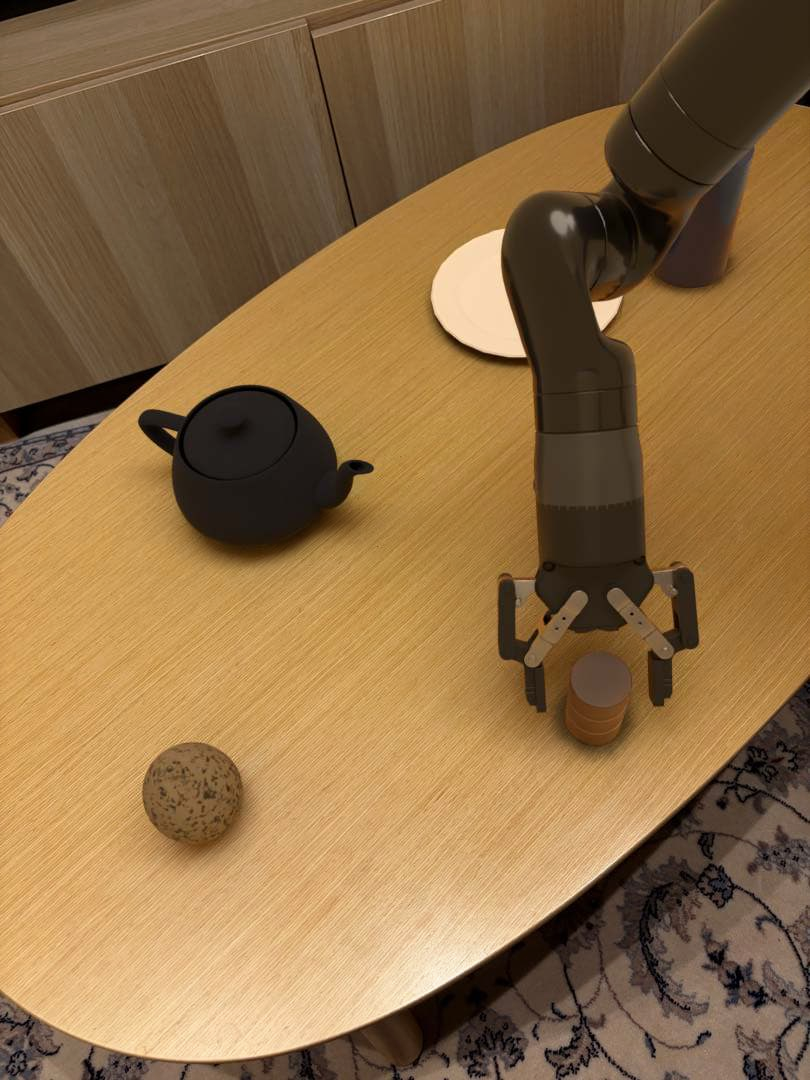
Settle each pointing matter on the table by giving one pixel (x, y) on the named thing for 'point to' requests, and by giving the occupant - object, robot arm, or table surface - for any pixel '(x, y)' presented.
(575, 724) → the brown ridged cylinder
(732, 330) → the table surface
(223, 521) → the teapot
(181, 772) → the decorative egg
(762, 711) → the table surface
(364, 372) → the table surface
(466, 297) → the plate
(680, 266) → the bottle
